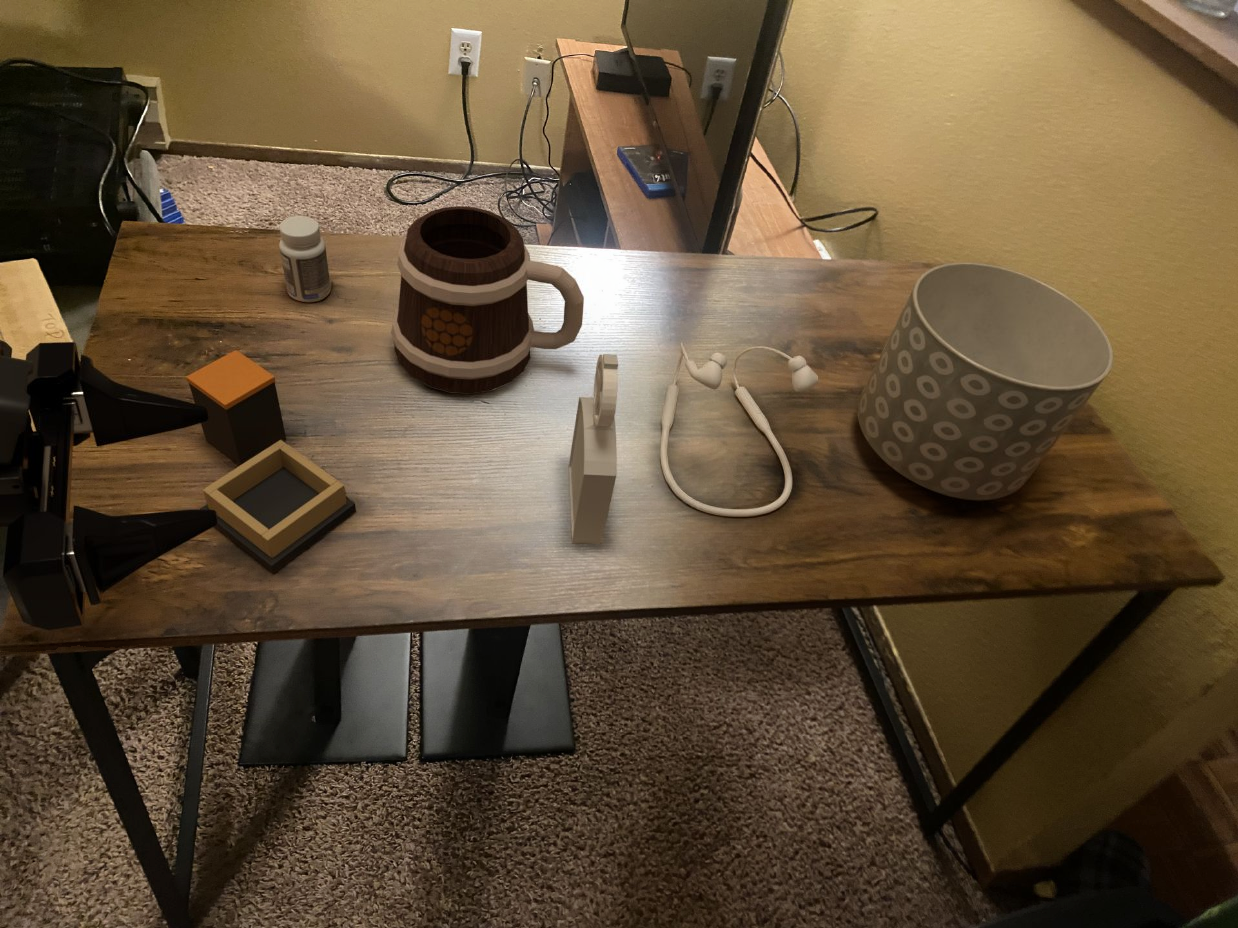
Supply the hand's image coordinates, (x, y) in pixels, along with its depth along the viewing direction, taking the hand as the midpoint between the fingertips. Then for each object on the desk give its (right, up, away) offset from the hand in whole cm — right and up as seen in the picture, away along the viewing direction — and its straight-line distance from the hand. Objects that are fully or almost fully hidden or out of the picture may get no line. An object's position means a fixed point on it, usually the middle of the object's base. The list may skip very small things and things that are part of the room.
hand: (212, 462), depth 54 cm
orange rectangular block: (-9, +2, +25) cm, 26 cm away
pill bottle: (-9, +19, +41) cm, 46 cm away
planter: (+61, +1, +38) cm, 72 cm away
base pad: (-3, -4, +19) cm, 20 cm away
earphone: (+37, +2, +34) cm, 50 cm away
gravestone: (+23, -4, +26) cm, 35 cm away
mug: (+12, +12, +38) cm, 41 cm away
